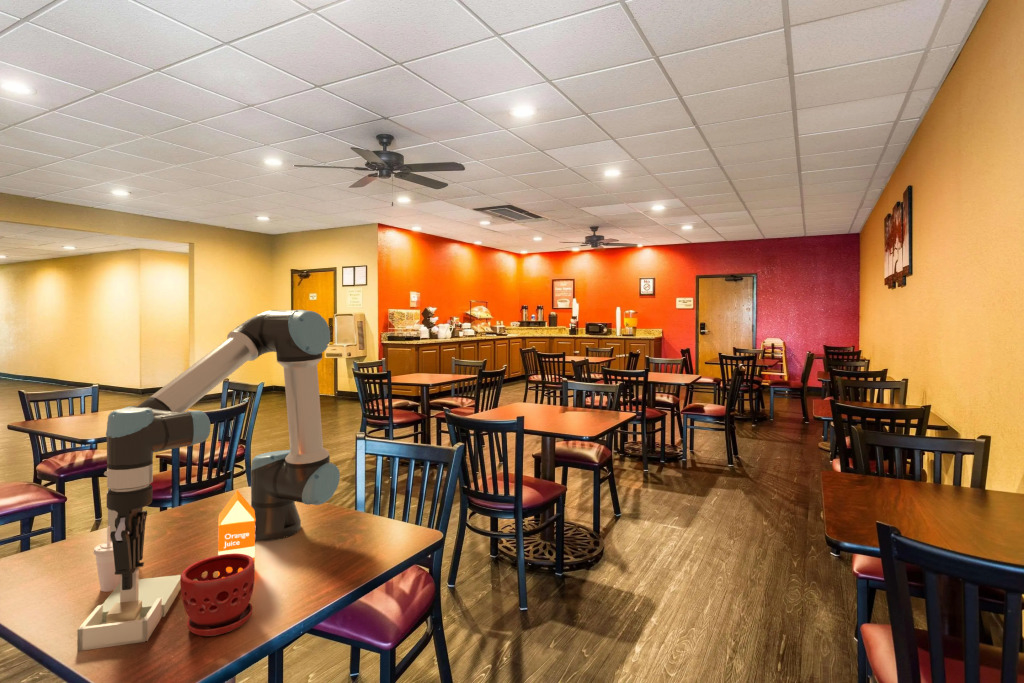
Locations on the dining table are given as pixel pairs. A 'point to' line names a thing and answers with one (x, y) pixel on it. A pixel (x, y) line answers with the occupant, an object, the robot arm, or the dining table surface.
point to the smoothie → (106, 565)
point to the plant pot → (218, 593)
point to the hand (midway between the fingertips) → (129, 602)
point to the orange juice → (237, 528)
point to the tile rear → (124, 611)
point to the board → (149, 594)
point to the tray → (116, 629)
